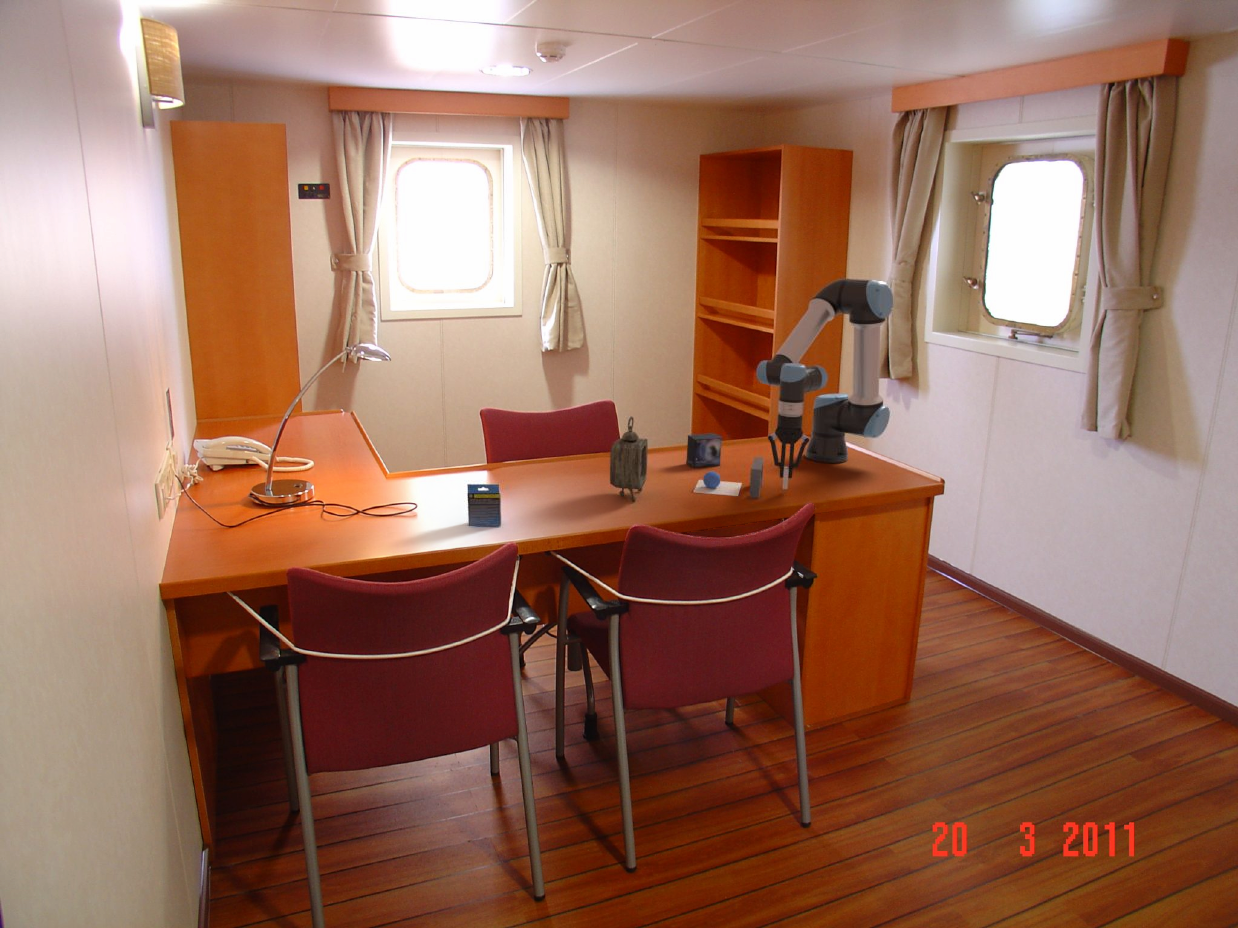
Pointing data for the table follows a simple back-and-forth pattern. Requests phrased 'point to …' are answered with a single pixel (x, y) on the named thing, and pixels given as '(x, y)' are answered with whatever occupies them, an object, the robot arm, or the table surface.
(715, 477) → the ball
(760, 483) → the bridge
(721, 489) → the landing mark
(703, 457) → the small box
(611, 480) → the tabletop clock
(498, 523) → the label tape cartridge
